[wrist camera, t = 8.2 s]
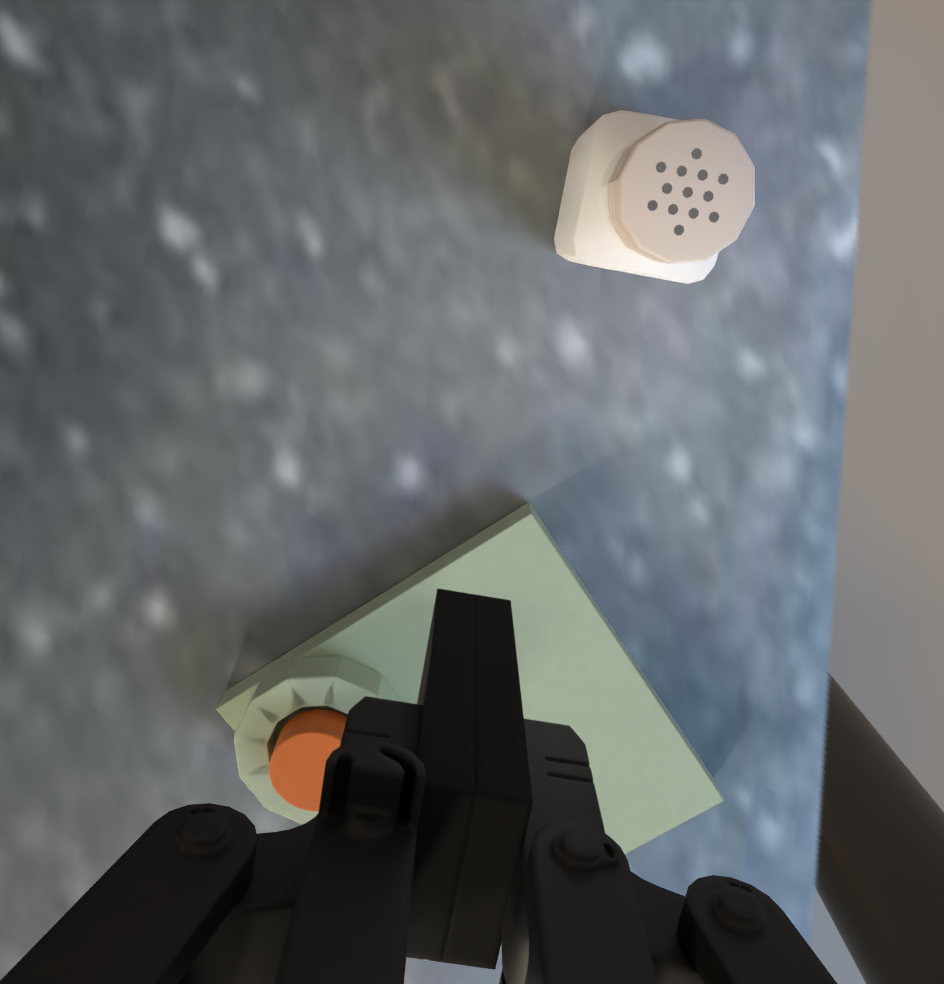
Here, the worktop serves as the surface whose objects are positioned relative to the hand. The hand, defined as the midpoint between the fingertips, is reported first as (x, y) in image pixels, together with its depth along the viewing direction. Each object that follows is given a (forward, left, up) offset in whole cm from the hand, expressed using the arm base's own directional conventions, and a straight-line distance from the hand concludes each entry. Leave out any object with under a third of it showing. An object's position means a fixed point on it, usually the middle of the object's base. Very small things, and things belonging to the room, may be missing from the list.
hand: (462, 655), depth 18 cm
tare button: (-5, +10, -12) cm, 16 cm away
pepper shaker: (+5, -9, -15) cm, 18 cm away
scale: (-9, +6, -15) cm, 18 cm away
